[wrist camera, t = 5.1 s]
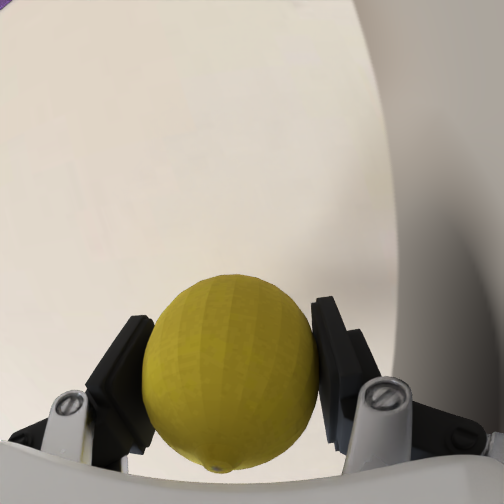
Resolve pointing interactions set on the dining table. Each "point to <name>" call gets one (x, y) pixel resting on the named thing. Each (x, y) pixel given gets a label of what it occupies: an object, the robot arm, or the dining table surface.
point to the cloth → (4, 3)
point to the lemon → (231, 373)
